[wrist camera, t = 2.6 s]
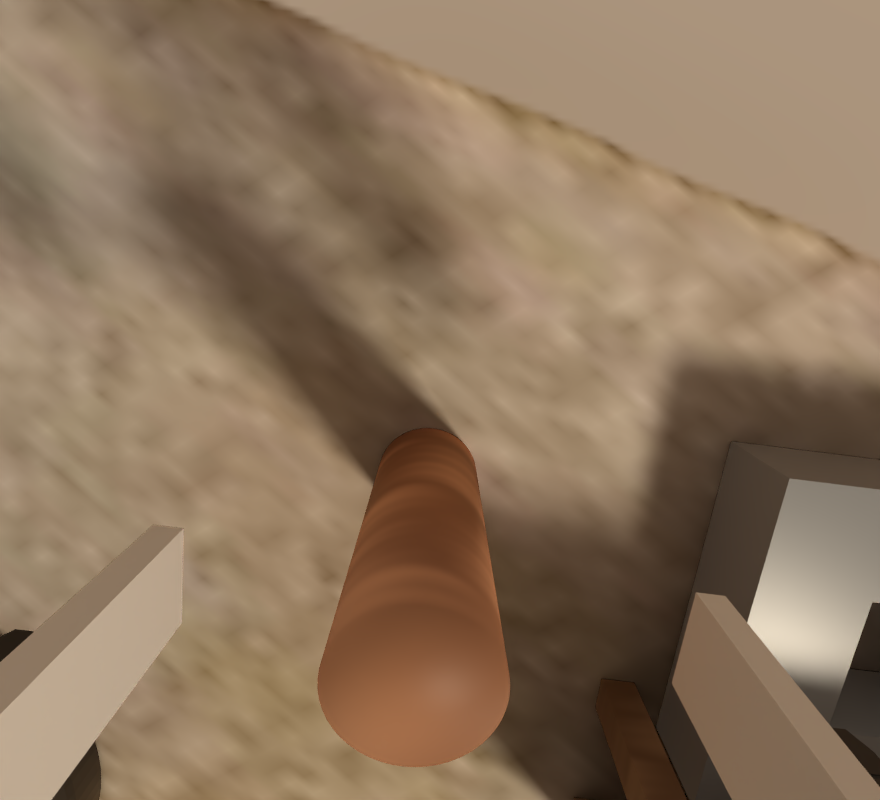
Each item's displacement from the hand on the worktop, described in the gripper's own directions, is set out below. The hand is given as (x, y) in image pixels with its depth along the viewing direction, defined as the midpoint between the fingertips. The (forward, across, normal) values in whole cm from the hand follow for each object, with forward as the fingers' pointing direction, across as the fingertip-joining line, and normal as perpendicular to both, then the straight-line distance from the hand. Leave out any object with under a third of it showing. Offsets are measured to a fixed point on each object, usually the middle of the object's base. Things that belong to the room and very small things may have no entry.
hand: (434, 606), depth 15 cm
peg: (+9, -1, 0) cm, 9 cm away
